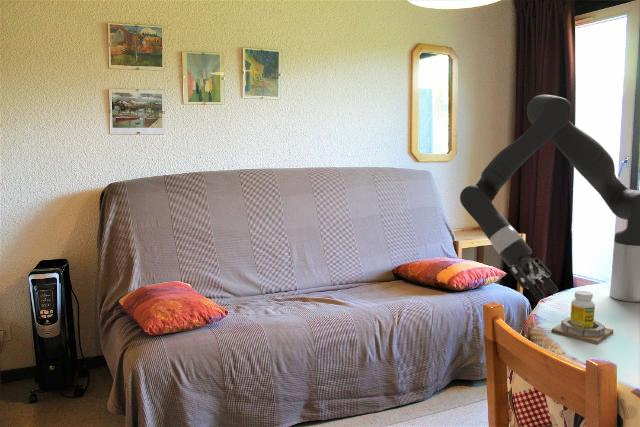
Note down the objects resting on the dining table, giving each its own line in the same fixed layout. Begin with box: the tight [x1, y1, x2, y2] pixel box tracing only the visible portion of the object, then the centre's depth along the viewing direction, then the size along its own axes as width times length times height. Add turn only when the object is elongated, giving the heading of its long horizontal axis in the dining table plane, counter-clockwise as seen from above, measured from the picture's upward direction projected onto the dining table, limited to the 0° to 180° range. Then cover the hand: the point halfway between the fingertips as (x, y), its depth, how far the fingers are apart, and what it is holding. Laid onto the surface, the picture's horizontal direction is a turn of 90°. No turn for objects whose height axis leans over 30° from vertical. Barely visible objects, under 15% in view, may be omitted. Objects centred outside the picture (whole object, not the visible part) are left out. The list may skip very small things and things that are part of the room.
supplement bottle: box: [570, 290, 596, 329], centre depth 137 cm, size 5×5×10 cm
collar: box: [551, 316, 614, 345], centre depth 138 cm, size 11×11×2 cm
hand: (548, 295), depth 143 cm, fingers open, 8 cm apart
